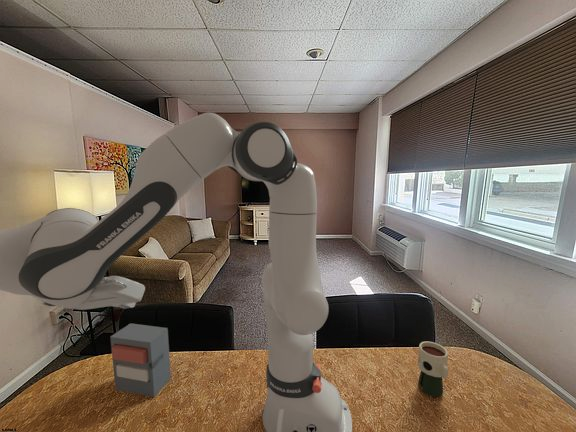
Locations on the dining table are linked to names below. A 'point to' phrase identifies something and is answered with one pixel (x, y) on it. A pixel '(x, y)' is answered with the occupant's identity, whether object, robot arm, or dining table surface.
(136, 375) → the pale button
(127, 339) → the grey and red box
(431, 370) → the character mug
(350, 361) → the dining table surface
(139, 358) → the red button
